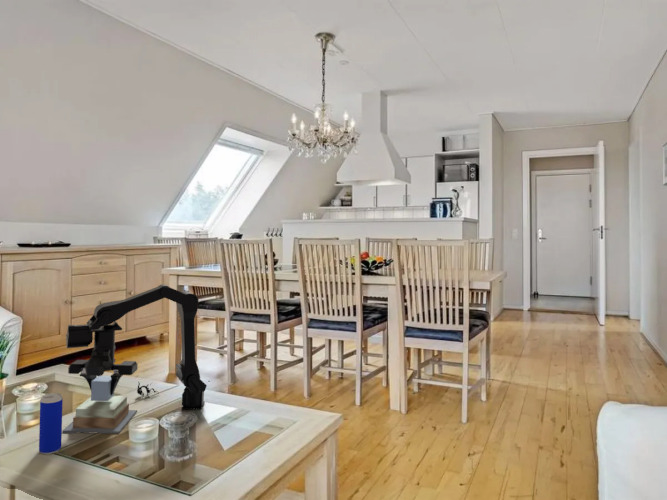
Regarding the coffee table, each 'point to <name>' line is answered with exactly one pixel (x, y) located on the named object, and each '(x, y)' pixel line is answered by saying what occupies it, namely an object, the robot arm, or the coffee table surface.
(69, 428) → the grey square plate
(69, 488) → the coffee table surface
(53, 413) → the beverage can
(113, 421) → the plinth
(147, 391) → the creature
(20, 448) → the coffee table surface
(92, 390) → the top block
